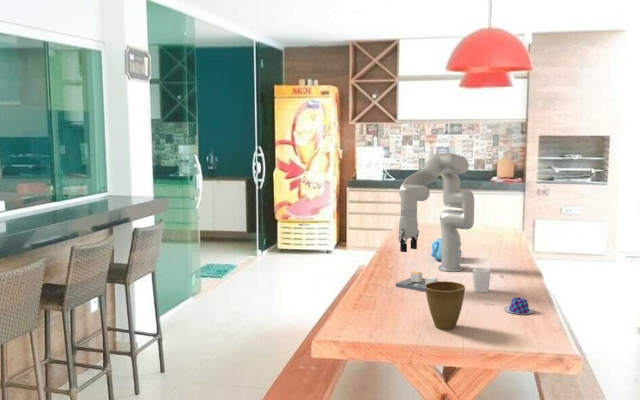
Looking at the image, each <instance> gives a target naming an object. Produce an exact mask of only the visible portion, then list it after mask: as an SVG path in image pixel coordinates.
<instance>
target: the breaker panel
mask: <svg viewBox="0 0 640 400" xmlns="http://www.w3.org/2000/svg"><path fill="white" fill-rule="evenodd" d="M437 282H442V281H441V280H440V281H439V280H437ZM425 285H426V278H423V277H422V281H421V282H414V281H411V277H409V278H407V279H404V280H401V281H399V282H396V283H395V287H396V288H402V289H403V288H404V289H408V290H413V291H419V292H423V293H426V290H425Z"/></svg>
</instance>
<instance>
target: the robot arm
mask: <svg viewBox="0 0 640 400" xmlns="http://www.w3.org/2000/svg"><path fill="white" fill-rule="evenodd" d="M469 166H470V165H469V161H468V159H467V158H466V157H465V156H463V155H460V154H456V153H447V152H446V153H445V152H443V153H442V152H439V153H437V152H435V153H433V154H432V155H431V156H430V158H429V159H428V161H427V162H426V163H425V165H424V166H423V168H422V169H420V170H418V171H416V172H414V173H412V174H411V175H409V176H407V177H406V178H405V179H404V181H403V182H402V184H401V185H400V188H399V190H398V195H399V197H400V217H399V222H398V235H397V238H398V241H399V244H400V247H399V250H400V253H401V252H402V253H407V252H408V243H407V241H408V239H411V240H410V249H411V250H417V249H418V238H419V234H420V230H419V225H418V202H424V201H427V200H428V199H429V197H430V195H431V193H430V191H431V190H430V189H429V188H428V186H426V185H429V184H432V183H434V182H436V181H437V180H438V178H439V176H441V178H442V182H443V185H442V186H443V187H442V188H443V190H442V192H443V193H442V195H443V196H442V197H443V198H442V199H443V200H442V201H443V205H444V206H445V207H447V208H456V209H446V210H445V209H444V210H443V211H441V212H440V215H439V222H440V228H441V229H440V230H441V238H442V256H441V260H440V262H441V264H440V265H439V266H438V270H439V271H442V272H443V271H444V272H450V273H451V272H453V273H455V272H461V271H463V269H464V268H463V266H462V265H460V264H462V263H463V259H461V256H460V250H461V246H460V242H461V235H460V232H459V231H458V230H471V229H472V228H473V226H474V222H475V196H474V193H473V192H472V190H468V189H461V179H460V177H459V175H464V174H466V173H467V171H468V170H469ZM458 209H462V210H458Z"/></svg>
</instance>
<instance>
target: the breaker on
mask: <svg viewBox="0 0 640 400" xmlns="http://www.w3.org/2000/svg"><path fill="white" fill-rule="evenodd" d="M425 279H426V284H428V283H432V282H437V281H438V278H437V277H431V276H428V277H425Z"/></svg>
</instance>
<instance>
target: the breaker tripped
mask: <svg viewBox="0 0 640 400" xmlns="http://www.w3.org/2000/svg"><path fill="white" fill-rule="evenodd" d="M410 278H411V281H414V282H421V281H422V278H423V272H421V271H415V270H414V271H412V272H410Z"/></svg>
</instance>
